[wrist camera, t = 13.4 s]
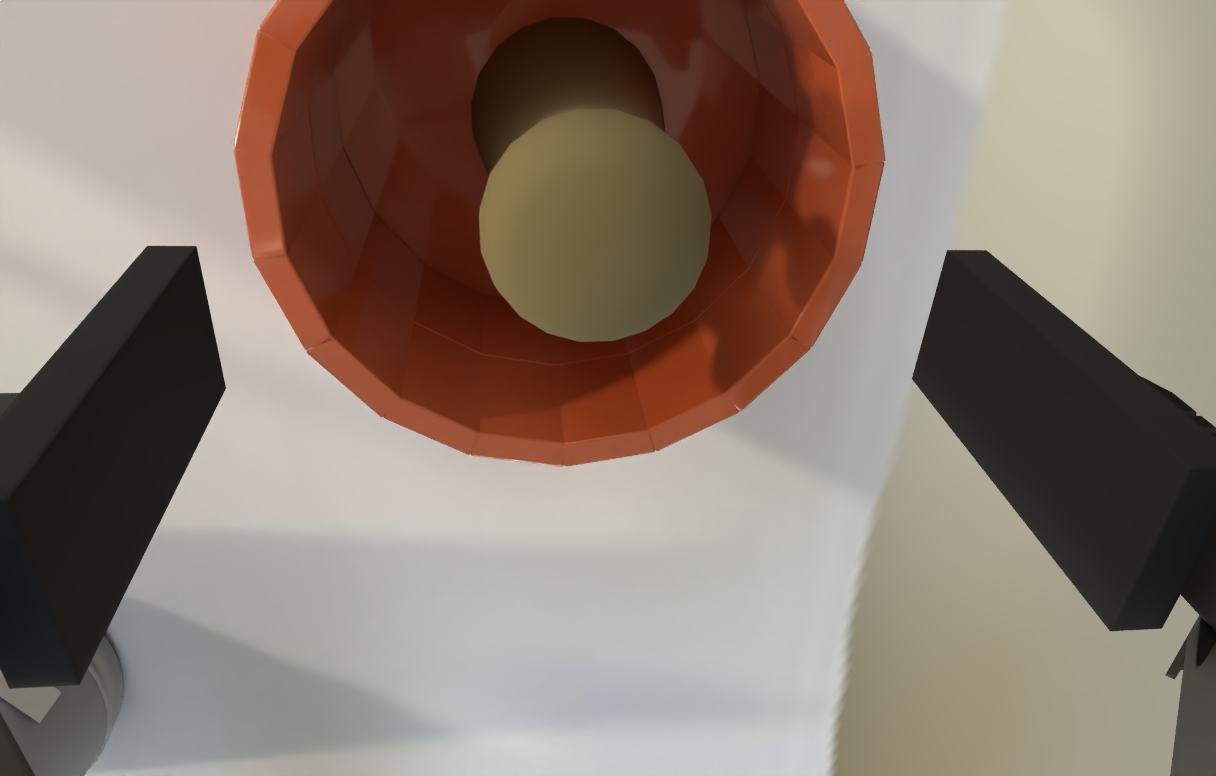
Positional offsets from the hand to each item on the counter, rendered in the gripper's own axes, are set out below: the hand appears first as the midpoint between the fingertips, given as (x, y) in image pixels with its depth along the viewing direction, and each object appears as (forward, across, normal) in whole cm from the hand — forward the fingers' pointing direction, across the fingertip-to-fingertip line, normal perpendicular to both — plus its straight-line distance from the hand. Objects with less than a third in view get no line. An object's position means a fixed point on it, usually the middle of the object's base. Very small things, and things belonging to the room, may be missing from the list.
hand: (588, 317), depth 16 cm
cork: (+14, +1, 0) cm, 14 cm away
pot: (+14, 0, 0) cm, 14 cm away
